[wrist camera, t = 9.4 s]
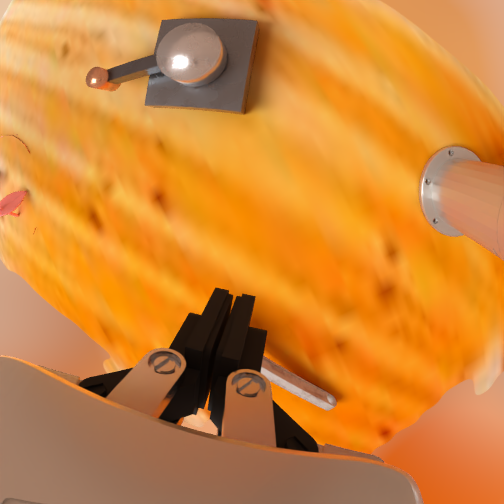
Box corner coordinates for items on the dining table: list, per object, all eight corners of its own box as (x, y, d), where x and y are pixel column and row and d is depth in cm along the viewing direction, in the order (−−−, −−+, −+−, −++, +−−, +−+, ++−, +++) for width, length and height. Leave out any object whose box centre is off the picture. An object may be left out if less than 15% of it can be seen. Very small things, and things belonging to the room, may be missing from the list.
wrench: (326, 390, 51) (195, 308, 43) (333, 385, 50) (202, 301, 42) (332, 423, 44) (184, 344, 36) (340, 418, 43) (192, 337, 35)
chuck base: (259, 29, 29) (257, 20, 26) (244, 114, 33) (240, 111, 30) (170, 27, 29) (162, 20, 27) (154, 107, 34) (144, 105, 31)
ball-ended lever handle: (225, 29, 27) (217, 15, 22) (229, 81, 29) (221, 72, 25) (104, 61, 29) (85, 55, 25) (106, 109, 31) (86, 107, 27)
